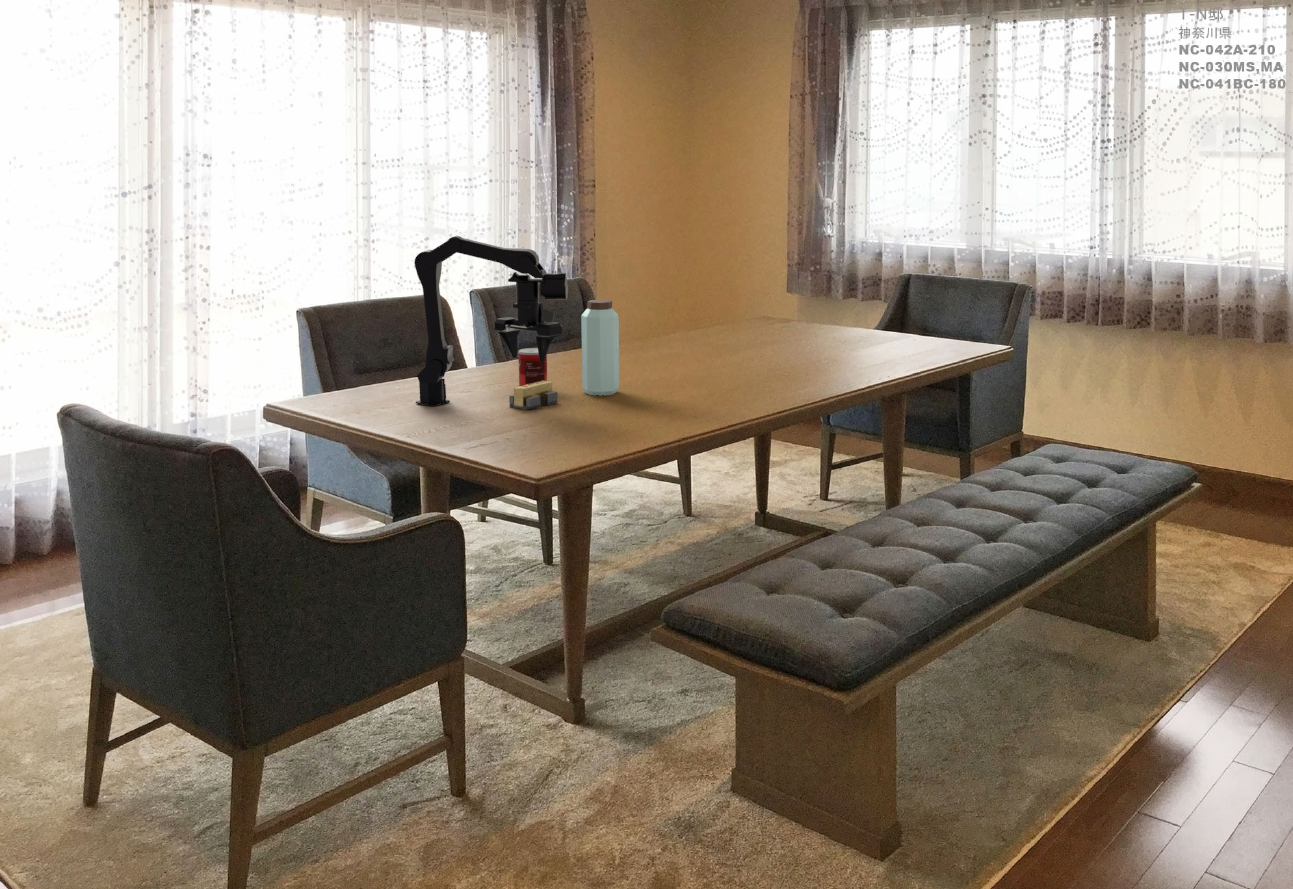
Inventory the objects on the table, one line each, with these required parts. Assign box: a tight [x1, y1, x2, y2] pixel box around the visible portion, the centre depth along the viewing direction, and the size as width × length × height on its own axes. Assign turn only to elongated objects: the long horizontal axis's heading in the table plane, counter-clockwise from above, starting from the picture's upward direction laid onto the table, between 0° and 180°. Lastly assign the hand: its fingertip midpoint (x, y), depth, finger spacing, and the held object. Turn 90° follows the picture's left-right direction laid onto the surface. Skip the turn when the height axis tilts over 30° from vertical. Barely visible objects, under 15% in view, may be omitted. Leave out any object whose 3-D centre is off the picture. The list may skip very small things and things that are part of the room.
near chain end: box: [508, 393, 541, 411], centre depth 321 cm, size 4×7×3 cm, turn 55°
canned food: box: [517, 347, 548, 387], centre depth 342 cm, size 8×8×11 cm
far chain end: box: [540, 390, 558, 406], centre depth 326 cm, size 4×7×3 cm, turn 55°
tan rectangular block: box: [513, 380, 553, 406], centre depth 323 cm, size 12×3×4 cm, turn 145°
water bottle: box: [580, 299, 620, 397], centre depth 336 cm, size 10×10×25 cm
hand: (528, 359), depth 322 cm, fingers open, 9 cm apart
